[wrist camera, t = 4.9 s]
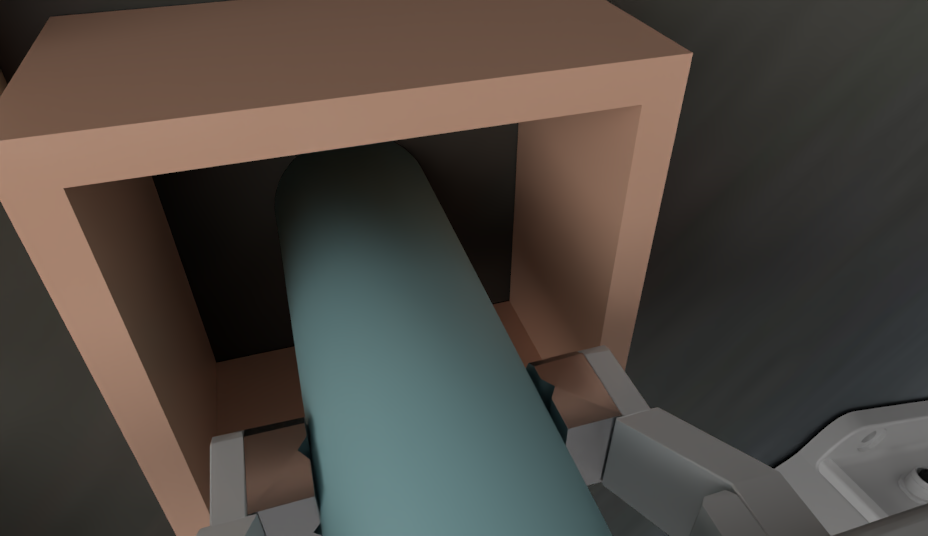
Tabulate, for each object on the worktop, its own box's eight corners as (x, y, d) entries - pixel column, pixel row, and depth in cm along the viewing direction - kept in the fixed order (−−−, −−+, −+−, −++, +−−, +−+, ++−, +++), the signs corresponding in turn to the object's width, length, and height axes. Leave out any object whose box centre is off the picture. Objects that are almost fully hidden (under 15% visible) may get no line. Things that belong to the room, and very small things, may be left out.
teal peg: (425, 122, 16) (826, 800, 6) (430, 251, 19) (718, 889, 8) (260, 146, 15) (373, 1008, 5) (289, 278, 18) (407, 1037, 7)
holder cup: (558, -29, 15) (693, 53, 11) (531, 314, 21) (608, 446, 17) (50, 17, 12) (-30, 144, 8) (194, 387, 19) (190, 562, 15)
